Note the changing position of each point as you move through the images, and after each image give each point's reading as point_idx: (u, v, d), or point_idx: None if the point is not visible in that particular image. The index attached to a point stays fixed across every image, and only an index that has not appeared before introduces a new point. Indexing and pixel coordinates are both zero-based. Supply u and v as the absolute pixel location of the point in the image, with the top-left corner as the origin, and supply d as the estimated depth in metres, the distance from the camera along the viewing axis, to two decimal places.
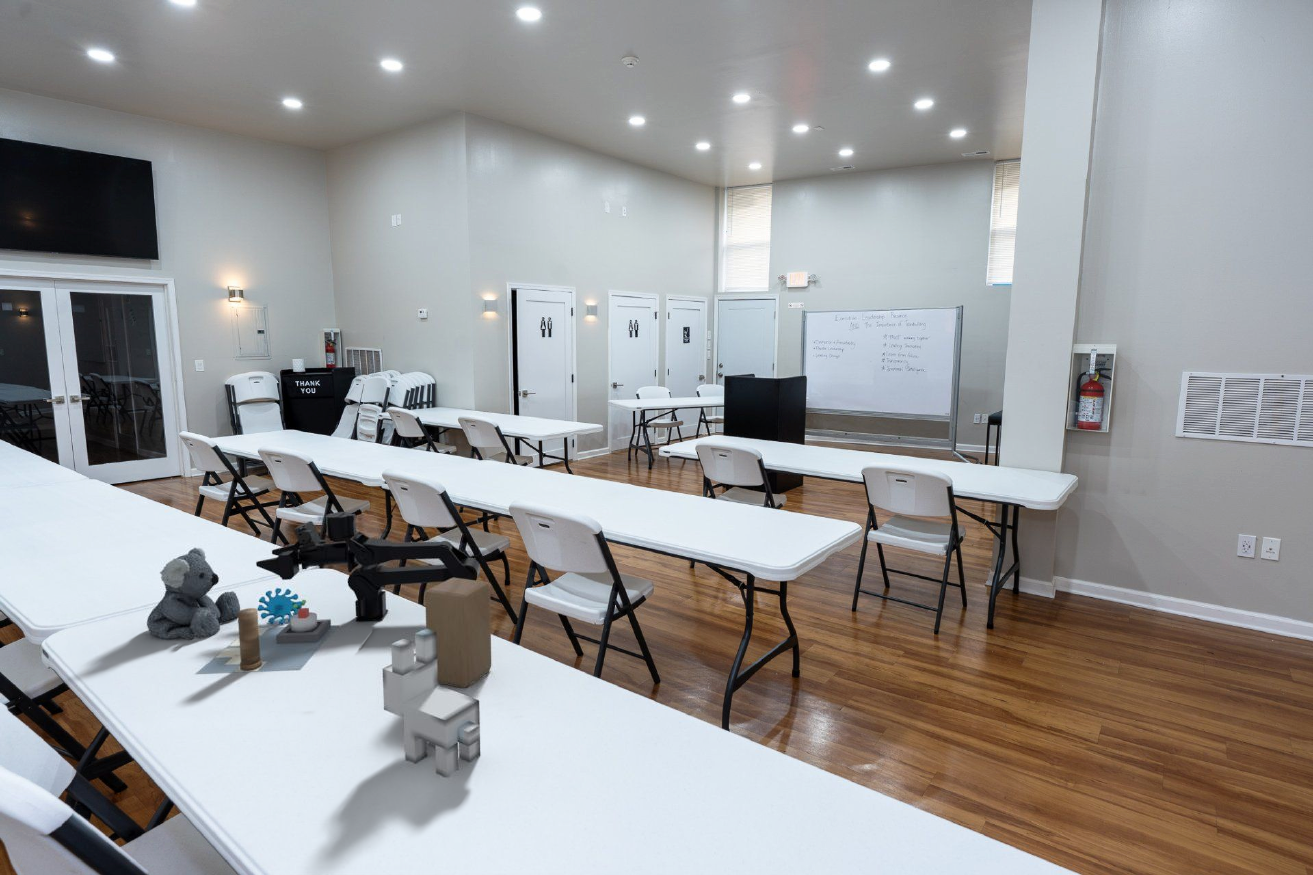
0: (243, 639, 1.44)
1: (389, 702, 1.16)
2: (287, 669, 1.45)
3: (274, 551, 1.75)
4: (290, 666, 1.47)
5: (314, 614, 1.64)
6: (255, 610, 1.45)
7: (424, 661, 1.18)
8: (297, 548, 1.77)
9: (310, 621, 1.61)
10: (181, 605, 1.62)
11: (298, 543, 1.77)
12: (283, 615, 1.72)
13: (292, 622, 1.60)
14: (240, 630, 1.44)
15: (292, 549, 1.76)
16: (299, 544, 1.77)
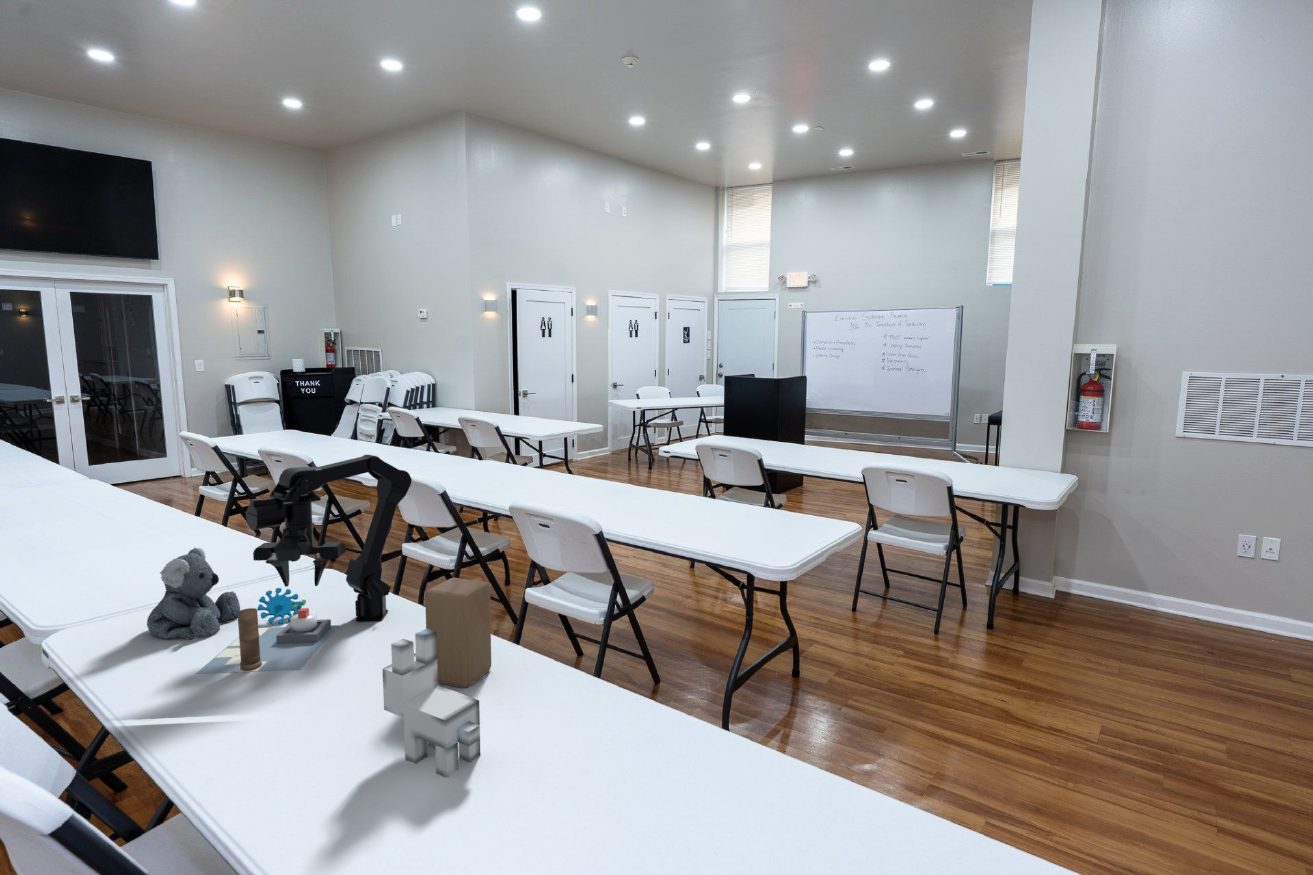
0: (243, 639, 1.44)
1: (389, 702, 1.16)
2: (287, 669, 1.45)
3: (287, 583, 1.61)
4: (290, 666, 1.47)
5: (314, 614, 1.64)
6: (255, 610, 1.45)
7: (424, 661, 1.18)
8: (283, 562, 1.60)
9: (310, 621, 1.61)
10: (181, 605, 1.62)
11: (280, 562, 1.58)
12: (283, 615, 1.72)
13: (292, 622, 1.60)
14: (240, 630, 1.44)
15: (284, 566, 1.60)
16: None
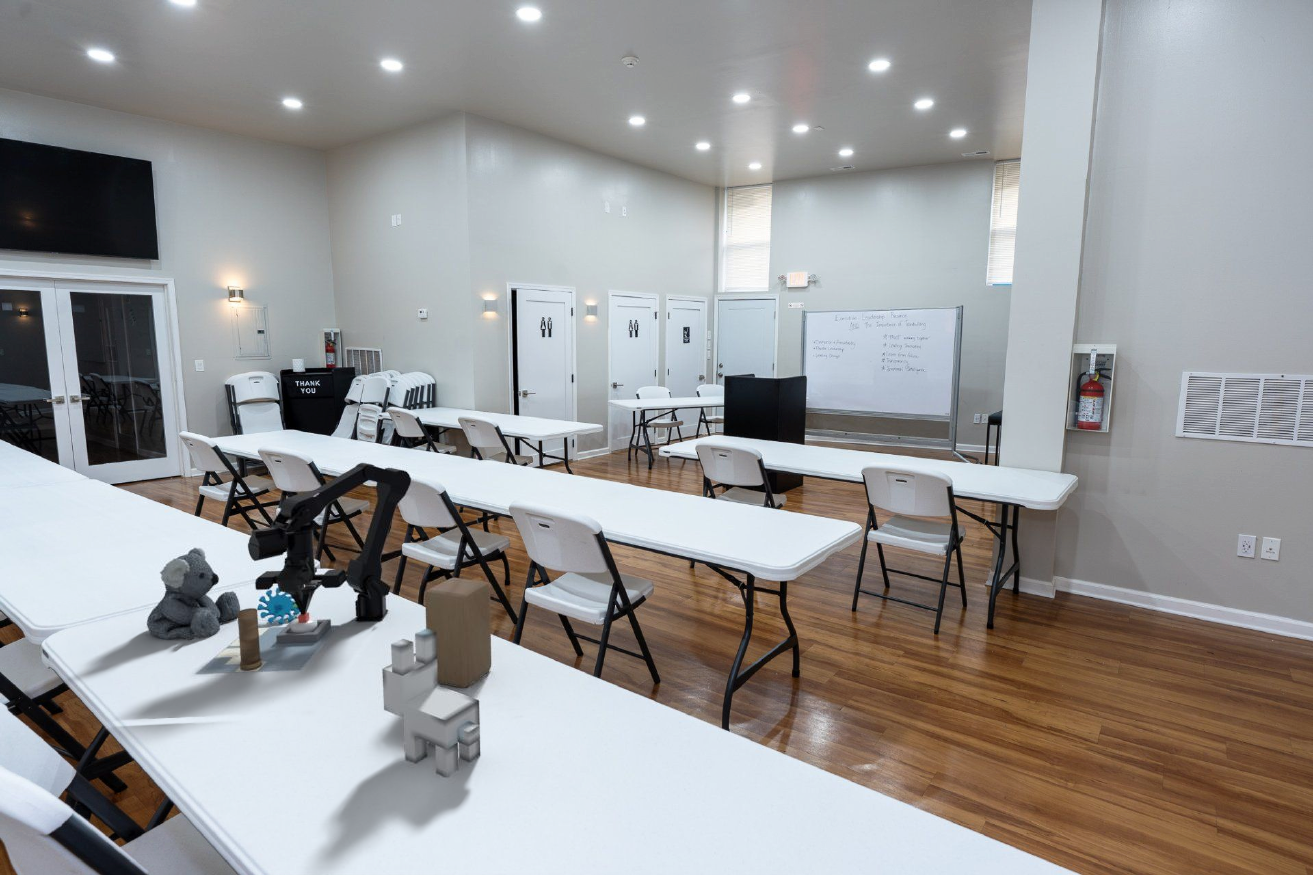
0: (243, 639, 1.44)
1: (388, 702, 1.16)
2: (287, 669, 1.45)
3: None
4: (290, 666, 1.47)
5: (314, 618, 1.64)
6: (255, 610, 1.45)
7: (424, 661, 1.18)
8: (299, 590, 1.61)
9: (310, 626, 1.61)
10: (181, 605, 1.62)
11: (296, 590, 1.59)
12: (283, 615, 1.72)
13: (292, 627, 1.60)
14: (240, 630, 1.44)
15: (300, 594, 1.61)
16: None
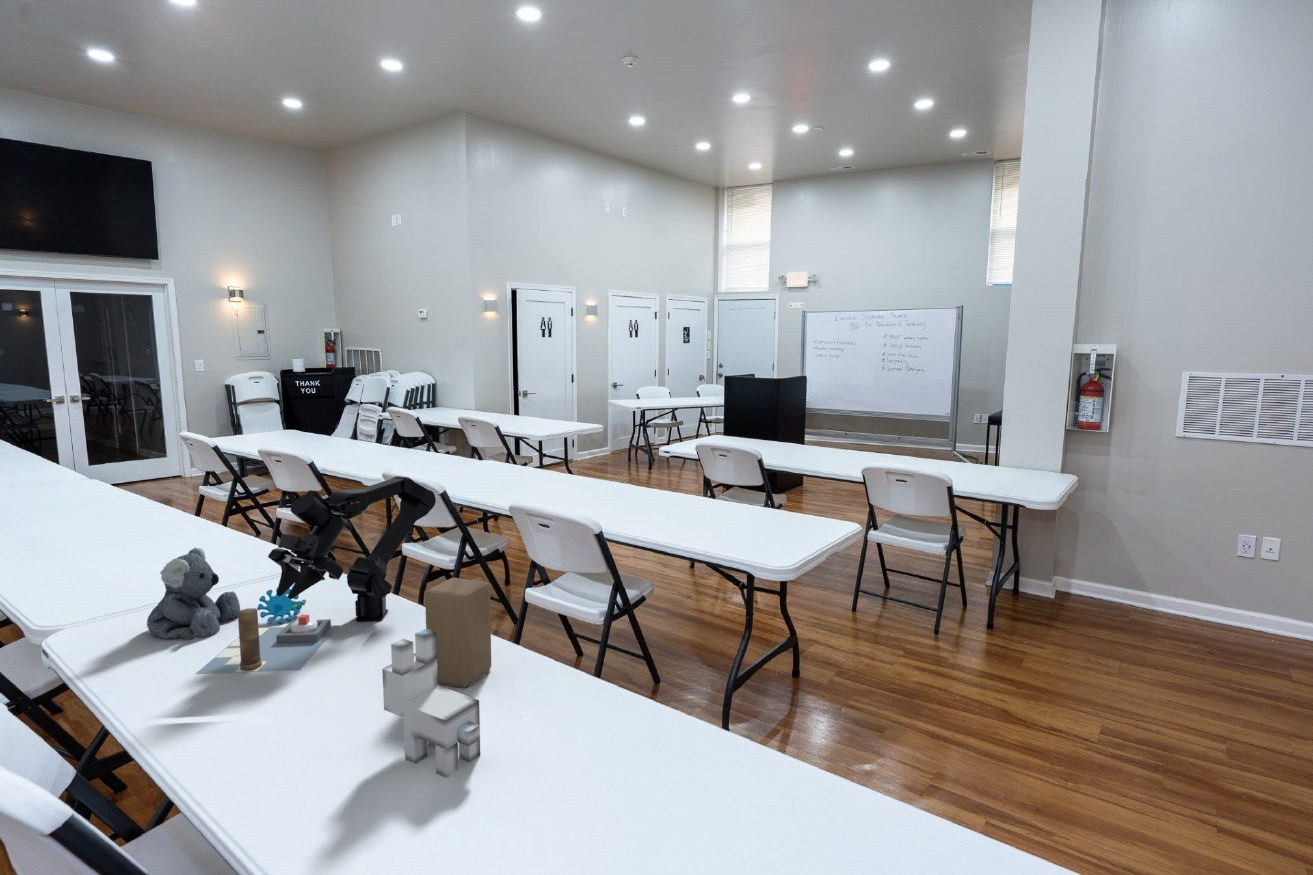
0: (243, 639, 1.44)
1: (388, 702, 1.16)
2: (287, 669, 1.45)
3: (279, 592, 1.53)
4: (290, 666, 1.47)
5: (314, 621, 1.64)
6: (255, 610, 1.45)
7: (424, 661, 1.18)
8: (291, 570, 1.56)
9: (310, 628, 1.61)
10: (181, 605, 1.62)
11: (288, 566, 1.56)
12: (282, 614, 1.72)
13: (292, 629, 1.60)
14: (240, 630, 1.44)
15: (289, 575, 1.56)
16: (289, 566, 1.56)
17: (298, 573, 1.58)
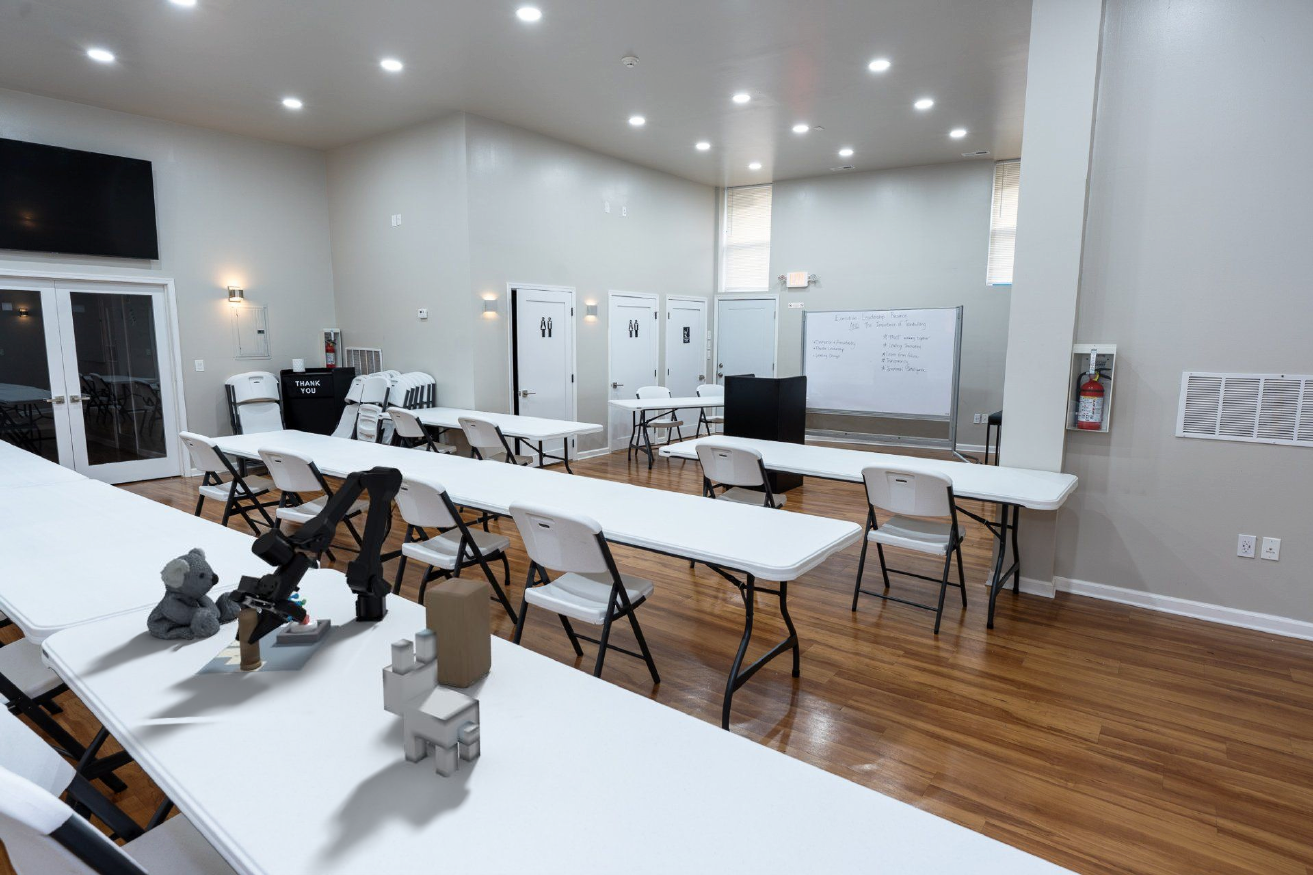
0: (243, 639, 1.44)
1: (388, 702, 1.16)
2: (287, 669, 1.45)
3: (238, 637, 1.45)
4: (290, 666, 1.47)
5: (314, 621, 1.64)
6: (255, 610, 1.45)
7: (424, 661, 1.18)
8: None
9: (310, 628, 1.61)
10: (181, 605, 1.62)
11: (248, 608, 1.48)
12: None
13: (292, 629, 1.60)
14: (240, 630, 1.44)
15: None
16: None
17: (259, 615, 1.50)
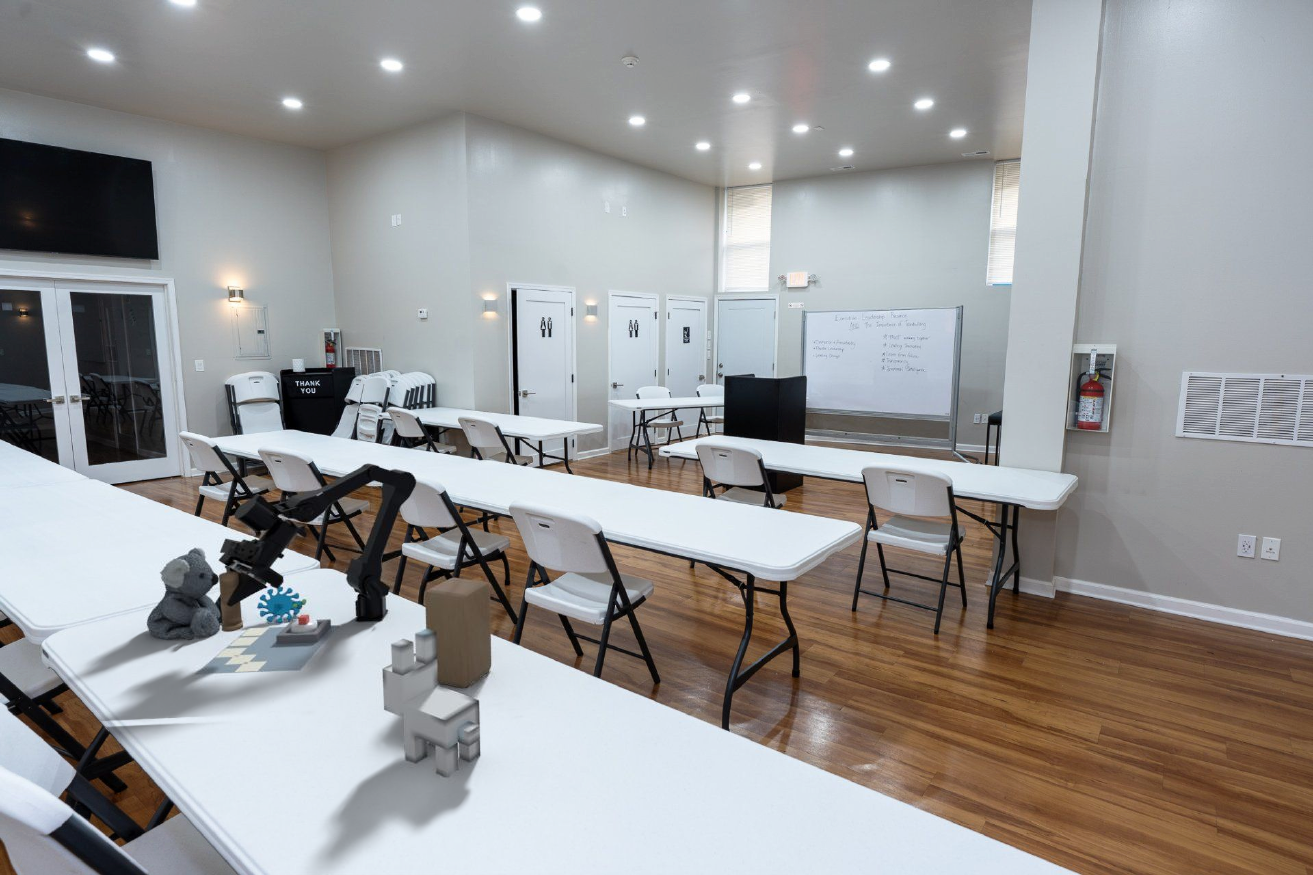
0: (223, 600, 1.48)
1: (389, 702, 1.16)
2: (287, 669, 1.45)
3: None
4: (290, 666, 1.47)
5: (314, 621, 1.64)
6: (235, 574, 1.49)
7: (424, 661, 1.18)
8: None
9: (310, 628, 1.61)
10: (181, 605, 1.62)
11: None
12: (281, 614, 1.72)
13: (292, 629, 1.60)
14: (220, 592, 1.48)
15: None
16: None
17: None
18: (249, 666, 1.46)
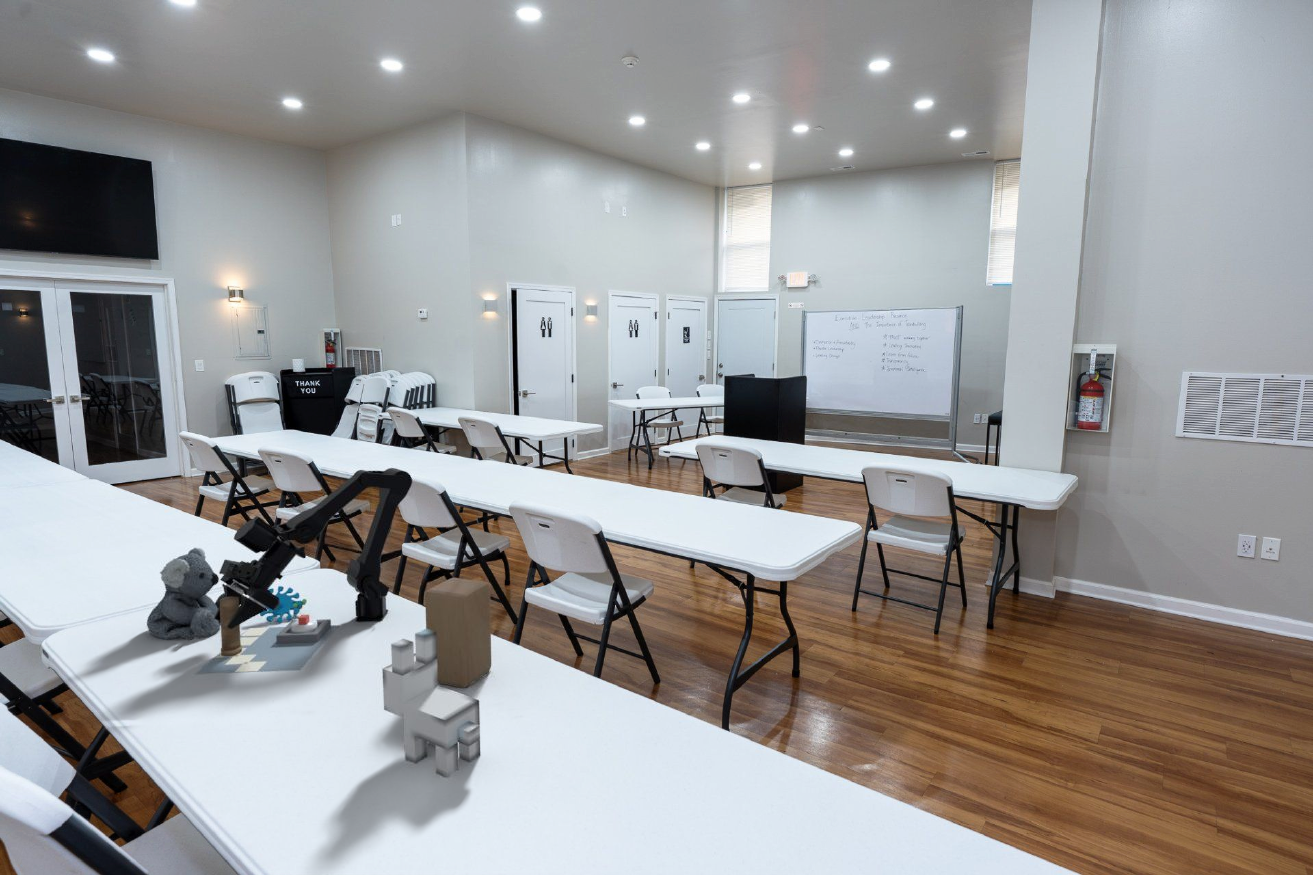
0: (222, 625, 1.50)
1: (388, 702, 1.16)
2: (287, 669, 1.45)
3: (217, 616, 1.53)
4: (290, 666, 1.47)
5: (314, 621, 1.64)
6: (235, 599, 1.52)
7: (424, 661, 1.18)
8: (233, 594, 1.56)
9: (310, 628, 1.61)
10: (181, 605, 1.62)
11: (229, 590, 1.55)
12: (281, 614, 1.73)
13: (292, 629, 1.60)
14: (220, 616, 1.51)
15: None
16: (231, 590, 1.56)
17: None
18: (249, 666, 1.46)
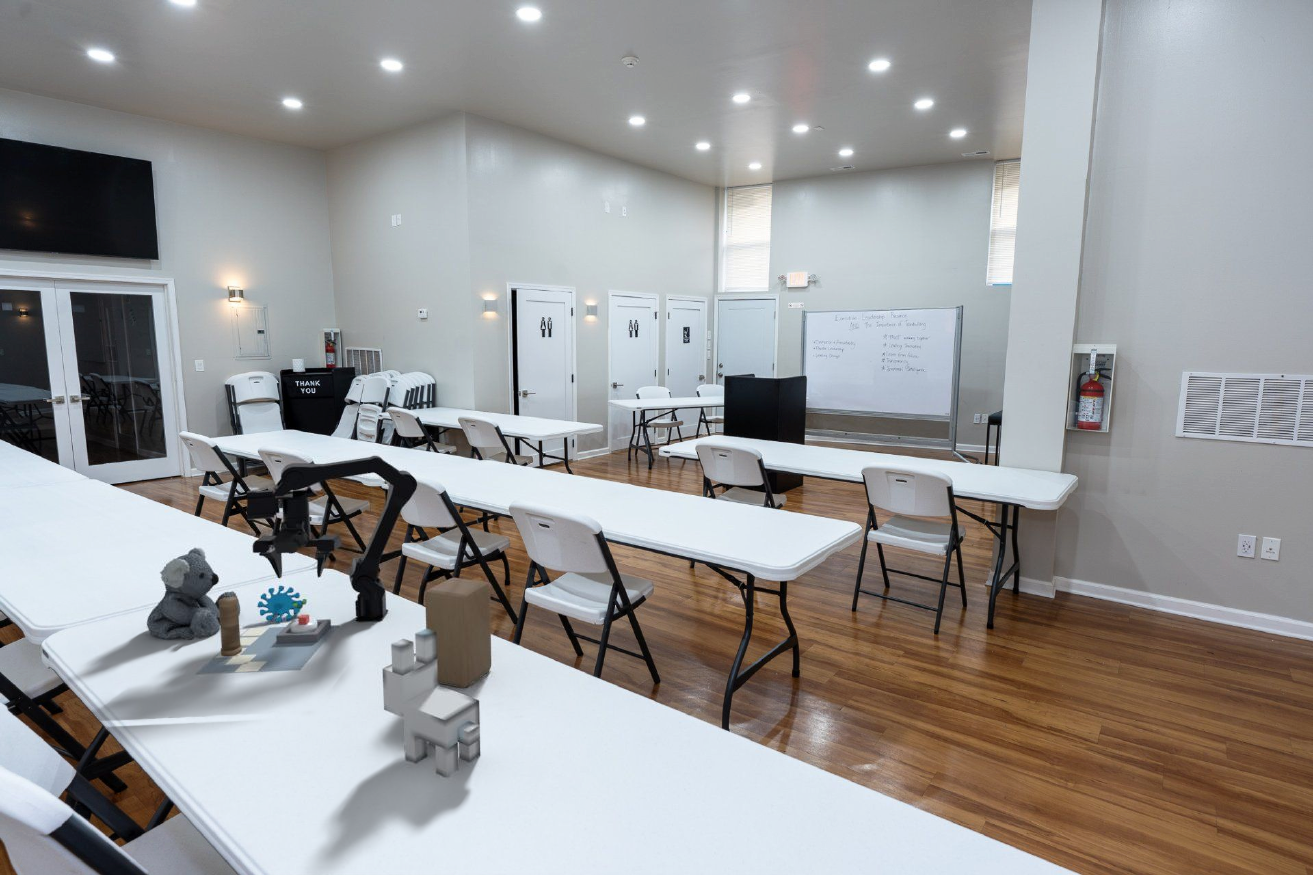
0: (222, 626, 1.50)
1: (389, 702, 1.16)
2: (287, 669, 1.45)
3: (280, 575, 1.66)
4: (290, 666, 1.47)
5: (314, 621, 1.64)
6: (234, 599, 1.51)
7: (424, 661, 1.18)
8: (275, 554, 1.65)
9: (310, 628, 1.61)
10: (181, 605, 1.62)
11: (273, 554, 1.64)
12: (281, 613, 1.73)
13: (292, 629, 1.60)
14: (220, 617, 1.50)
15: (277, 559, 1.66)
16: (273, 553, 1.64)
17: None
18: (249, 666, 1.46)
